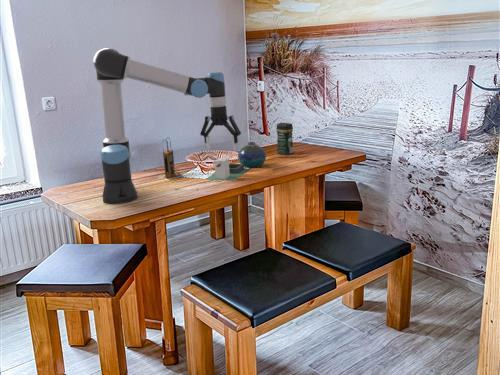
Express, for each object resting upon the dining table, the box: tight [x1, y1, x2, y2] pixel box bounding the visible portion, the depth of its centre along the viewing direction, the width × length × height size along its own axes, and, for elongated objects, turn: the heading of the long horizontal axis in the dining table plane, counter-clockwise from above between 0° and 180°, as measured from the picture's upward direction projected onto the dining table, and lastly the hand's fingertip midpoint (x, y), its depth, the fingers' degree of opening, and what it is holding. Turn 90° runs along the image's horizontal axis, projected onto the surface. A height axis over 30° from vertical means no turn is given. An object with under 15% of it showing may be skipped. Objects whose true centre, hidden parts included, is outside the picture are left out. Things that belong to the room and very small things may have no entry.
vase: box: [237, 141, 267, 169], centre depth 260 cm, size 15×15×13 cm
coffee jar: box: [276, 122, 294, 155], centre depth 288 cm, size 10×8×19 cm
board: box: [205, 163, 250, 182], centre depth 243 cm, size 24×15×4 cm, turn 161°
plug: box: [214, 157, 230, 179], centre depth 235 cm, size 9×5×9 cm, turn 161°
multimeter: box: [162, 137, 185, 181], centre depth 247 cm, size 15×10×20 cm
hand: (221, 149), depth 233 cm, fingers open, 13 cm apart
